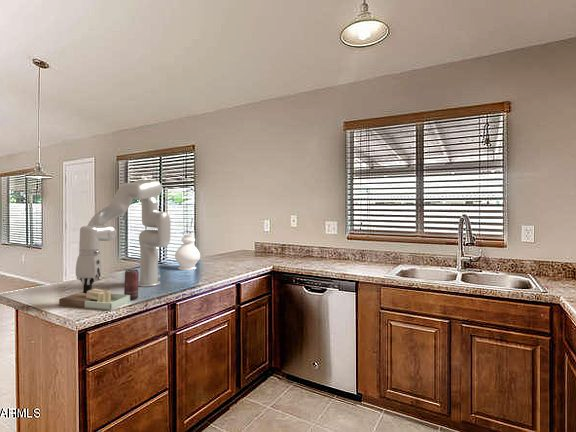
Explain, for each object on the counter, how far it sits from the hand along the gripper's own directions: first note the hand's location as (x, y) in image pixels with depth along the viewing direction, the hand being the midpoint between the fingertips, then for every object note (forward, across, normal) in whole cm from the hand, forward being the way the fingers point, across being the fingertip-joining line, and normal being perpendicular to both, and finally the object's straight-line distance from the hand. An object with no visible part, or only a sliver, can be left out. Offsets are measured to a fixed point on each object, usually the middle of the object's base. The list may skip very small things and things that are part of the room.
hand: (87, 292), depth 154 cm
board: (+5, +2, 0) cm, 5 cm away
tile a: (+2, -4, 0) cm, 4 cm away
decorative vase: (+4, -6, -92) cm, 93 cm away
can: (+5, -15, -11) cm, 19 cm away
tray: (+5, -10, 0) cm, 11 cm away
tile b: (+2, -7, 0) cm, 7 cm away
